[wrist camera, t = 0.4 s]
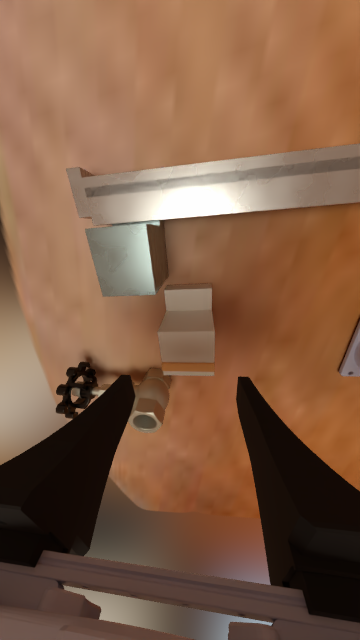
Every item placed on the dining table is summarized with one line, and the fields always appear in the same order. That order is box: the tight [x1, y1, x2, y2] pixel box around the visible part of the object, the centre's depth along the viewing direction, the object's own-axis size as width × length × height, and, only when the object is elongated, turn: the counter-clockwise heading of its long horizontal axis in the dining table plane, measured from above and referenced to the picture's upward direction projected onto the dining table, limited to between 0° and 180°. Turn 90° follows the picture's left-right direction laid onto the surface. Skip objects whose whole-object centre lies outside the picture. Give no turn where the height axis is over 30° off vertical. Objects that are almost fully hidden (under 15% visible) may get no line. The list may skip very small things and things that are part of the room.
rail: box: [66, 144, 360, 297], centre depth 13 cm, size 24×8×6 cm, turn 94°
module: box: [158, 283, 215, 376], centre depth 17 cm, size 4×7×6 cm
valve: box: [56, 362, 171, 433], centre depth 22 cm, size 7×7×12 cm
